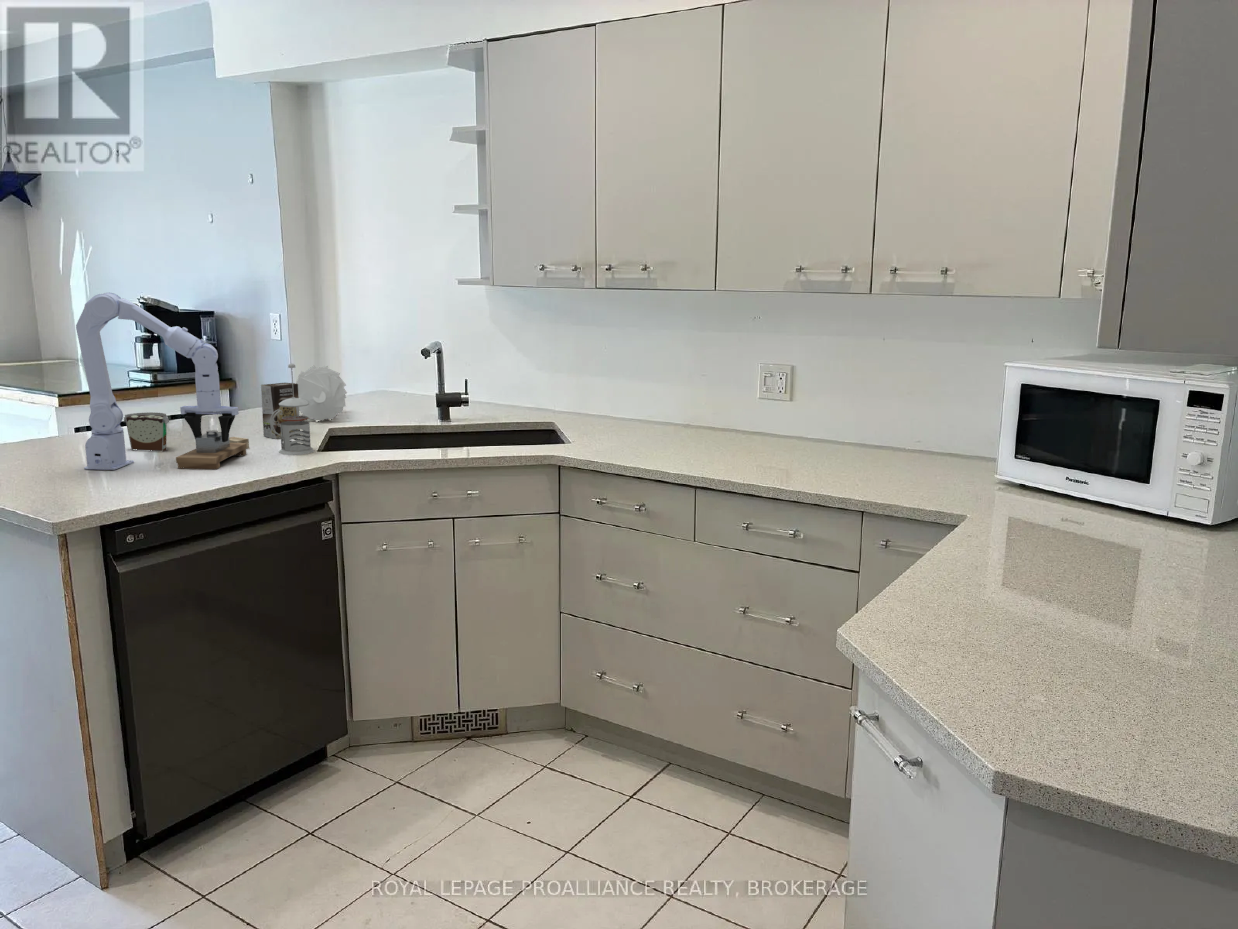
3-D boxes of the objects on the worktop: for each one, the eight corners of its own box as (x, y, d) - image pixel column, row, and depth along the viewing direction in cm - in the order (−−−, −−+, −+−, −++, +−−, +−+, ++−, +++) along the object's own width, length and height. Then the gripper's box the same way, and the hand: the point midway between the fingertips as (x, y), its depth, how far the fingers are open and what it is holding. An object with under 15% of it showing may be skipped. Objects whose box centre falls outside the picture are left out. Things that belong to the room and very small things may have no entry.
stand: (215, 469, 231) (214, 458, 231) (176, 468, 231) (175, 457, 231) (247, 453, 251) (246, 443, 250) (211, 452, 251) (210, 442, 250)
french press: (320, 452, 255) (316, 364, 250) (279, 457, 248) (274, 366, 242) (306, 446, 262) (301, 360, 257) (266, 451, 255) (260, 363, 249)
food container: (180, 447, 257) (177, 412, 255) (168, 451, 251) (165, 416, 249) (140, 445, 258) (136, 411, 256) (126, 449, 252) (123, 414, 250)
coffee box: (276, 439, 272) (272, 386, 268) (262, 436, 275) (259, 384, 272) (301, 435, 279) (298, 383, 276) (288, 432, 283) (285, 381, 279)
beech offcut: (238, 451, 255) (237, 441, 254) (222, 449, 257) (222, 439, 257) (249, 449, 258) (248, 438, 258) (234, 446, 261) (233, 436, 260)
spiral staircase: (333, 423, 324) (335, 431, 300) (285, 403, 317) (283, 410, 294) (354, 376, 323) (357, 382, 300) (306, 355, 317) (305, 359, 294)
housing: (215, 453, 237) (214, 434, 235) (196, 452, 237) (194, 434, 235) (229, 446, 245) (228, 428, 244) (211, 446, 245) (210, 428, 244)
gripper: (241, 389, 241) (245, 438, 244) (187, 387, 241) (191, 437, 244) (230, 392, 234) (234, 443, 237) (174, 391, 234) (179, 442, 237)
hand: (211, 441), depth 240 cm, fingers open, 6 cm apart
